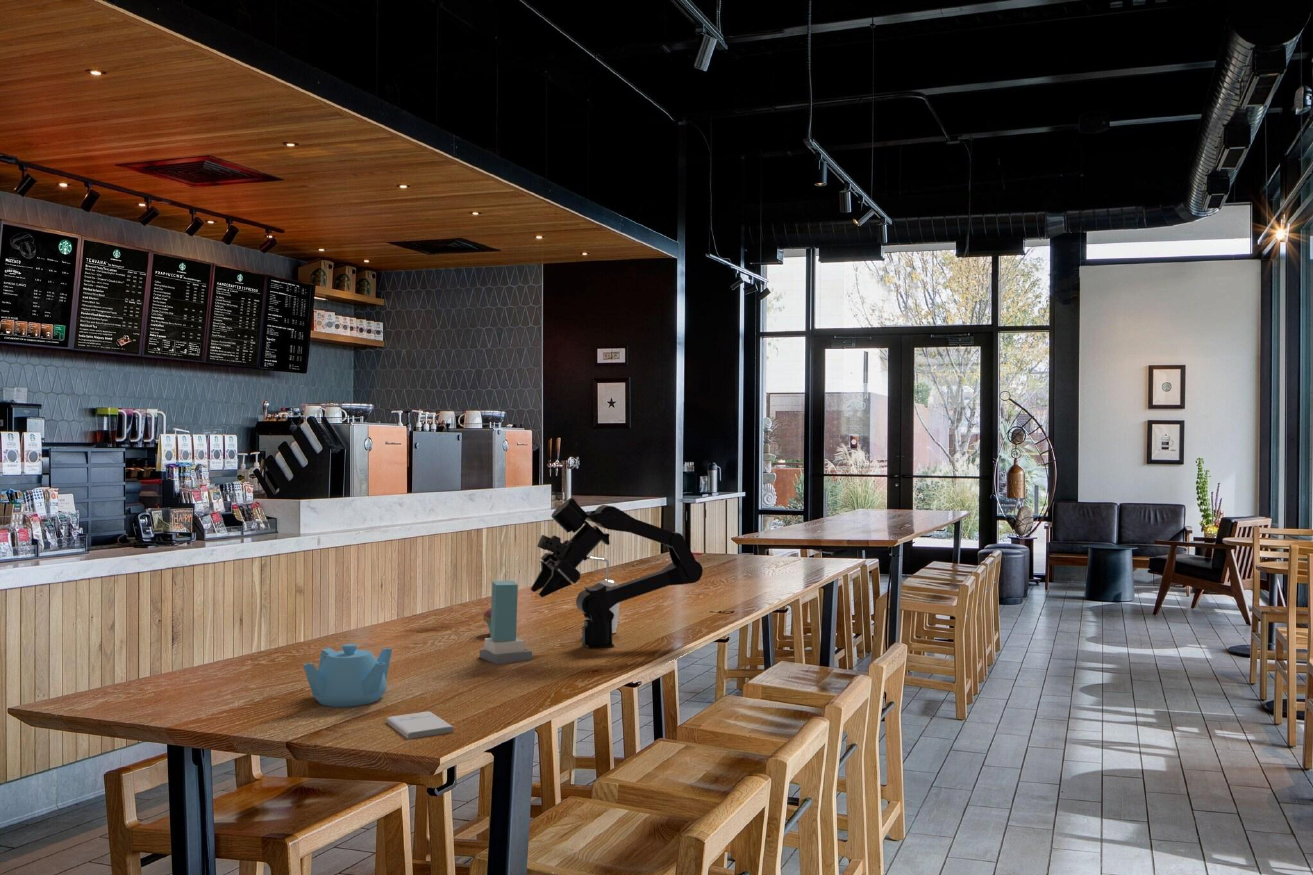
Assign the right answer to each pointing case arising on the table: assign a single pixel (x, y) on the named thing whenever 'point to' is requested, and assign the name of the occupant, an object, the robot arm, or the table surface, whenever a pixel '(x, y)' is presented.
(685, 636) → the table surface
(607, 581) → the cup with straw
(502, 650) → the tower top slab
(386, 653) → the teapot
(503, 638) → the teal pillar
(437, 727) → the external hard drive
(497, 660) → the tower base slab
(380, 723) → the table surface
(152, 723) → the table surface
